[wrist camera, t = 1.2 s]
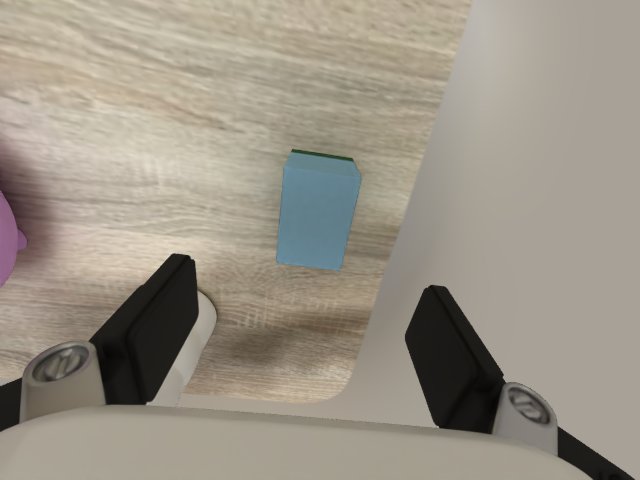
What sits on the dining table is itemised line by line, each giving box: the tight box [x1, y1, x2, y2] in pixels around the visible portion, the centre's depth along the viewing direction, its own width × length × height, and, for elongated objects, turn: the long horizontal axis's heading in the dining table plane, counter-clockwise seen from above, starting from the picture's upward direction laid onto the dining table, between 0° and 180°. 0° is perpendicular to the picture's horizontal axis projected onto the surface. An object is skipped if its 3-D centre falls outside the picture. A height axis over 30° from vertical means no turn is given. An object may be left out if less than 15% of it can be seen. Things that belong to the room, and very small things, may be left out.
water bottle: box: [146, 290, 217, 407], centre depth 16 cm, size 7×7×25 cm
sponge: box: [276, 149, 361, 271], centre depth 19 cm, size 6×4×5 cm
